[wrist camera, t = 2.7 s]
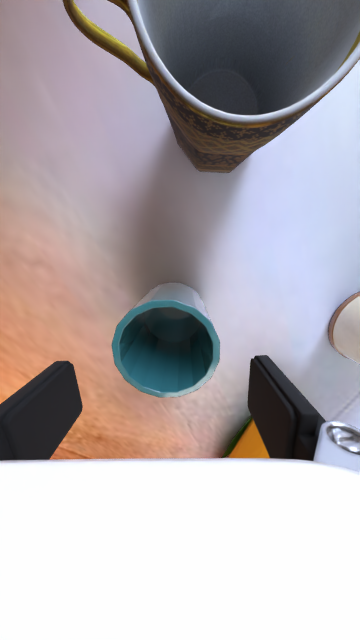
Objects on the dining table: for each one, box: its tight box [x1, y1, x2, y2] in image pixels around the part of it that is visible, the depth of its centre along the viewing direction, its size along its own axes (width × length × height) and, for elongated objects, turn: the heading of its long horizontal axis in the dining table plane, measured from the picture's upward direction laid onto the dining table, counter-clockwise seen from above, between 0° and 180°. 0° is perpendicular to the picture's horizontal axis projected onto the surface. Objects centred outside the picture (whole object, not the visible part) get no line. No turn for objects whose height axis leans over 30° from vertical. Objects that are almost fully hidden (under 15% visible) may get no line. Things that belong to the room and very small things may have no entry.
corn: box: [222, 417, 270, 458], centre depth 23 cm, size 7×8×20 cm
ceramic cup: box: [63, 0, 360, 173], centre depth 11 cm, size 13×10×10 cm
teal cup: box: [112, 282, 220, 397], centre depth 17 cm, size 7×7×9 cm
